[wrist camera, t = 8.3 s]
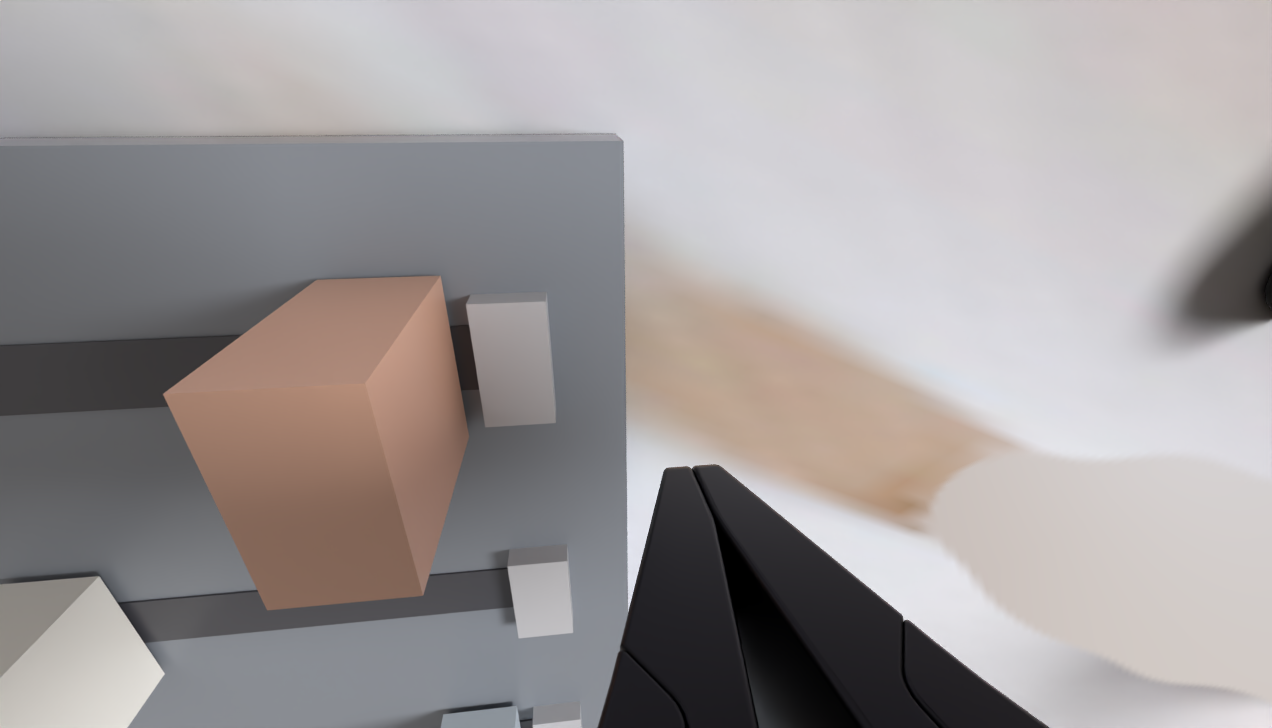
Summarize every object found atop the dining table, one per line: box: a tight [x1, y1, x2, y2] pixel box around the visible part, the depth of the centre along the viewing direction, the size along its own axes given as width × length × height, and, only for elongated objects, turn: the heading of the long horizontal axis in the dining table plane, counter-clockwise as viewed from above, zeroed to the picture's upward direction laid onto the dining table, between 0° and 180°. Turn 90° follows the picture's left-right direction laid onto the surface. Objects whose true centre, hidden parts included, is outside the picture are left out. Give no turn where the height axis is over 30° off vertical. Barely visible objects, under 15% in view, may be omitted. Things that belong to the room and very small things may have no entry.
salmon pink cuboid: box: [163, 276, 469, 610], centre depth 10 cm, size 2×4×4 cm, turn 0°
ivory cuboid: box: [0, 576, 165, 728], centre depth 12 cm, size 2×4×4 cm, turn 0°
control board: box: [0, 134, 628, 728], centre depth 15 cm, size 20×24×3 cm
